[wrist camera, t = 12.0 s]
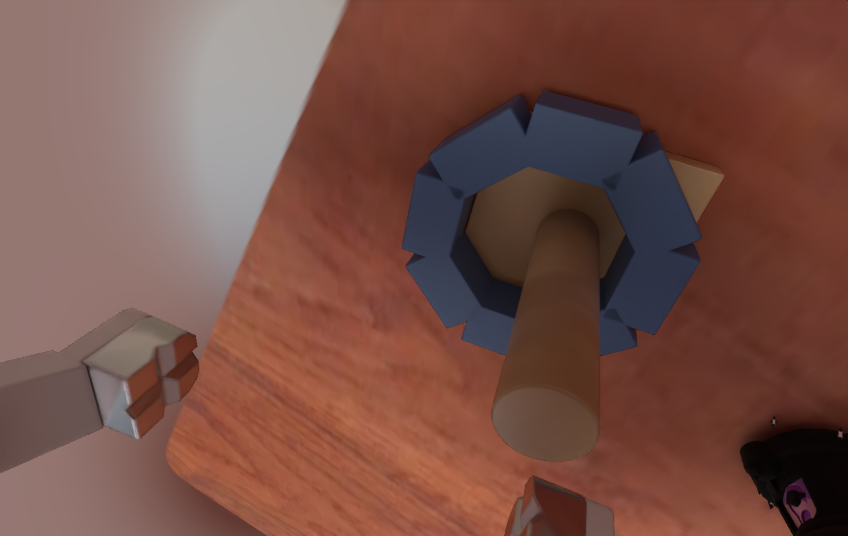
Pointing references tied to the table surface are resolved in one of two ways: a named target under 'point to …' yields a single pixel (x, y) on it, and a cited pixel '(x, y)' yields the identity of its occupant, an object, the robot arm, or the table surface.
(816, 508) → the black rounded figure
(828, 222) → the table surface
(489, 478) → the table surface
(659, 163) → the ring
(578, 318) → the stand
